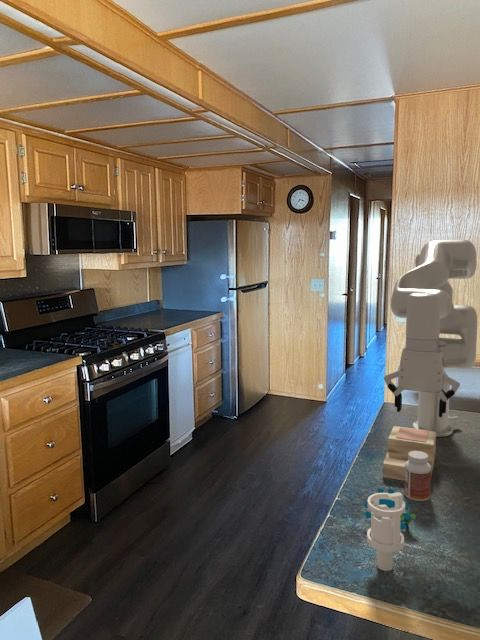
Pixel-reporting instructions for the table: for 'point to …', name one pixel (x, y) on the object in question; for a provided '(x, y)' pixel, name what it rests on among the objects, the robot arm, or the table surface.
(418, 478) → the pill bottle
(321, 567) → the table surface
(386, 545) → the white flanged pipe fitting
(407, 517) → the gear
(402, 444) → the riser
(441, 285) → the robot arm
